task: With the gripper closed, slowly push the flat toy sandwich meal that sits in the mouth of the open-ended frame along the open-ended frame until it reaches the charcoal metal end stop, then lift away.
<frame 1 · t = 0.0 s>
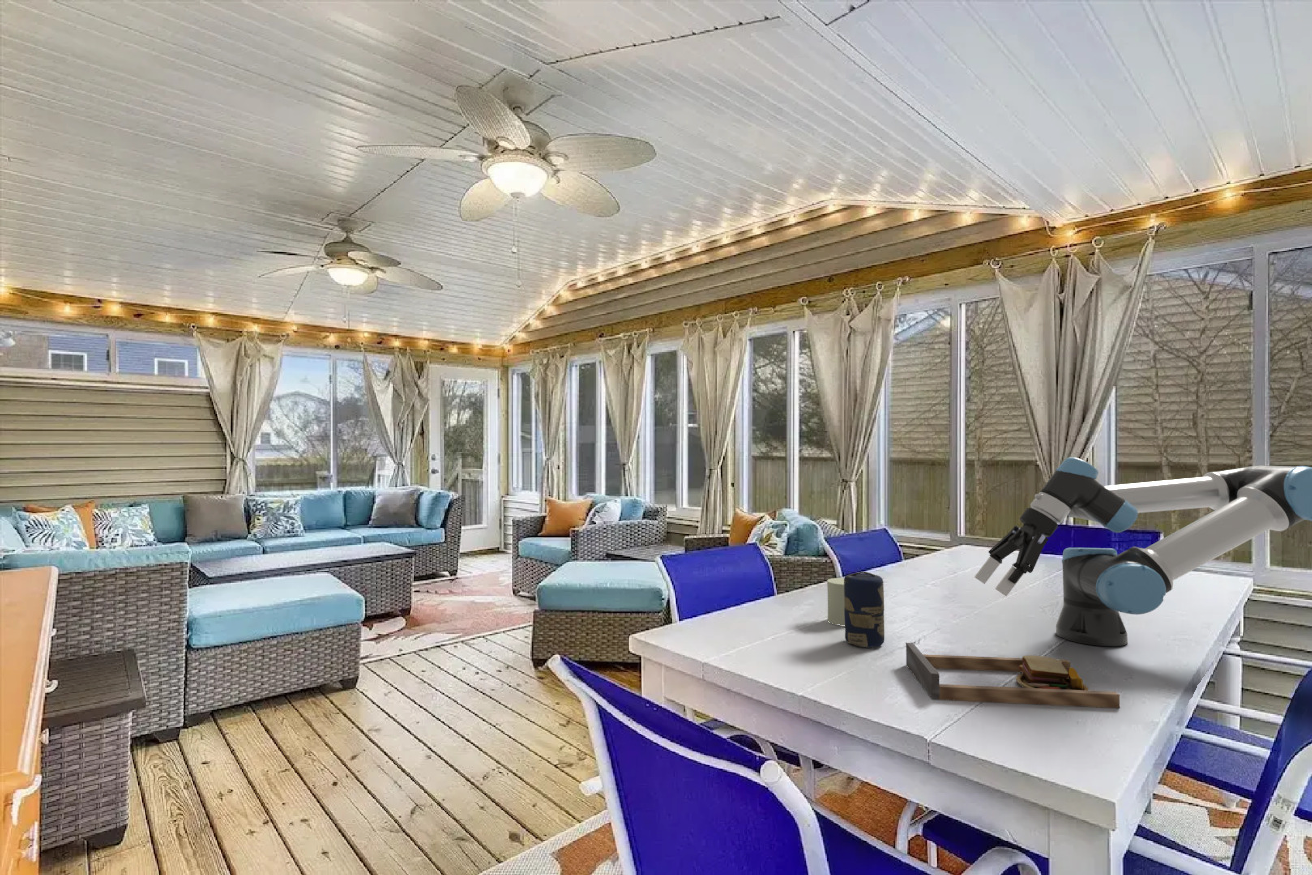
hand: (989, 586, 155), 15 cm above the table, tool tilted 35°, fingers open, 13 cm apart
open-ended frame: (1007, 684, 132), on the table
toy sandwich meal: (1048, 689, 131), on the table
can: (844, 622, 180), on the table
canister: (864, 644, 160), on the table
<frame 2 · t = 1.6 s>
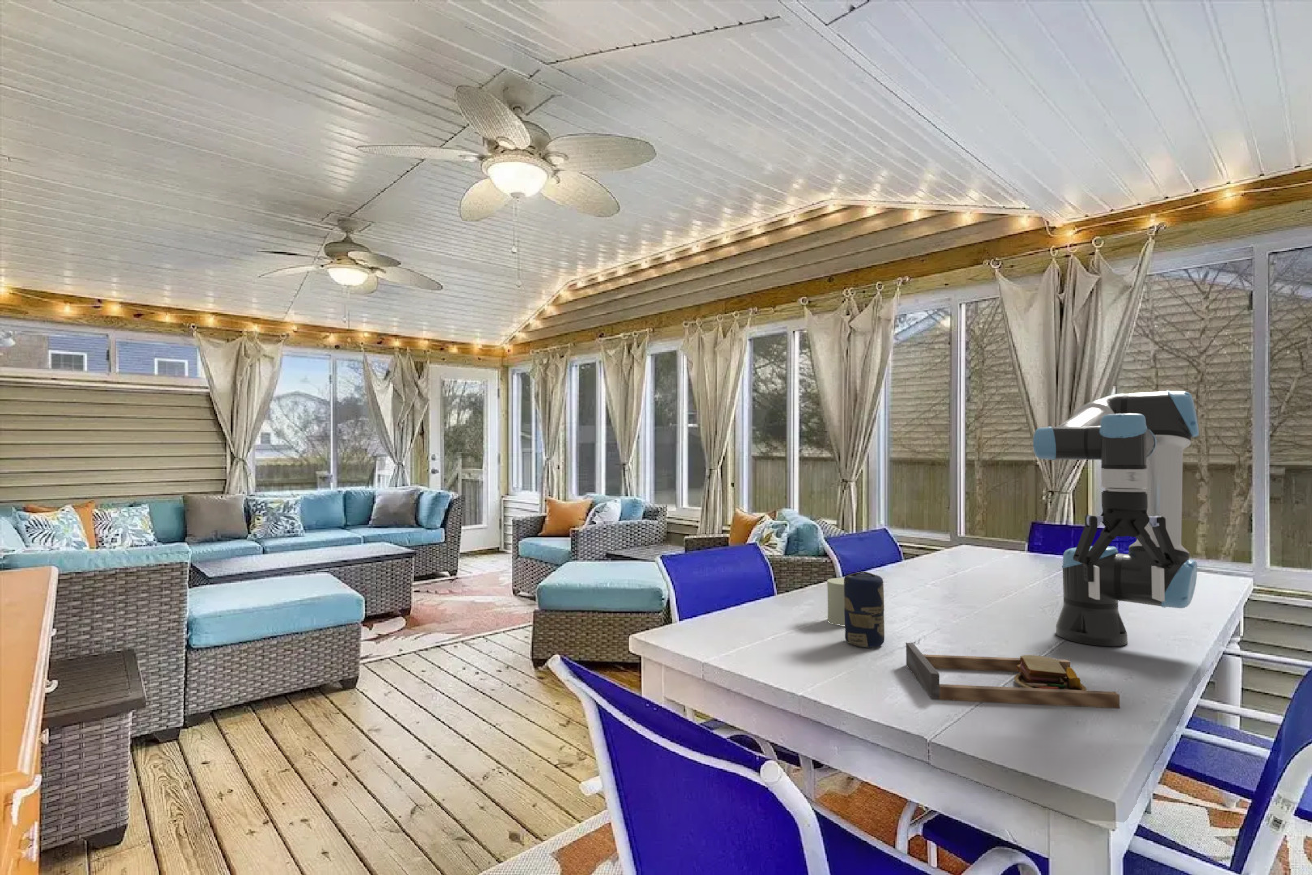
hand: (1126, 599, 129), 18 cm above the table, tool pointing down, fingers open, 11 cm apart
nothing on the table moved.
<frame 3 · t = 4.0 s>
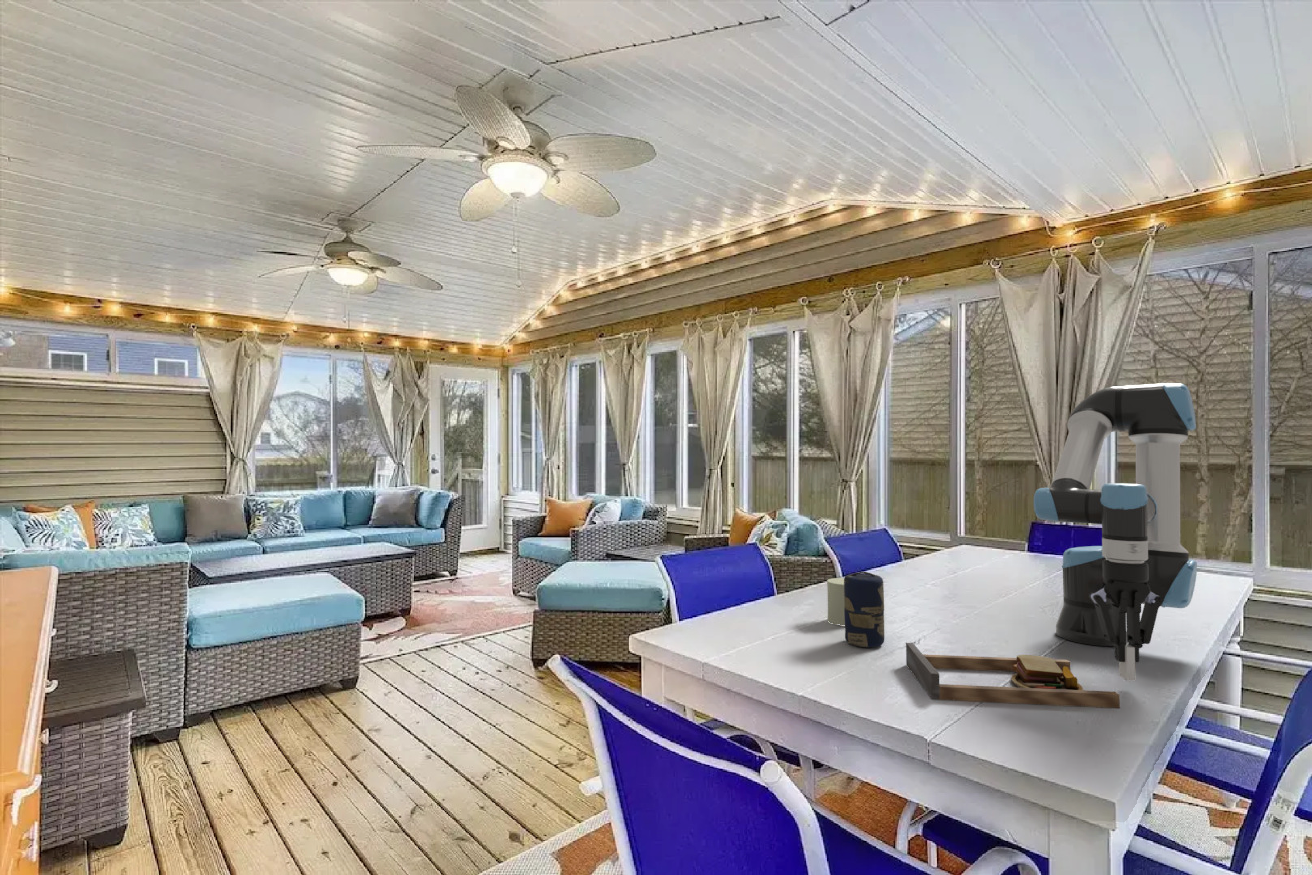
hand: (1127, 677, 129), 2 cm above the table, tool pointing down, fingers closed
nothing on the table moved.
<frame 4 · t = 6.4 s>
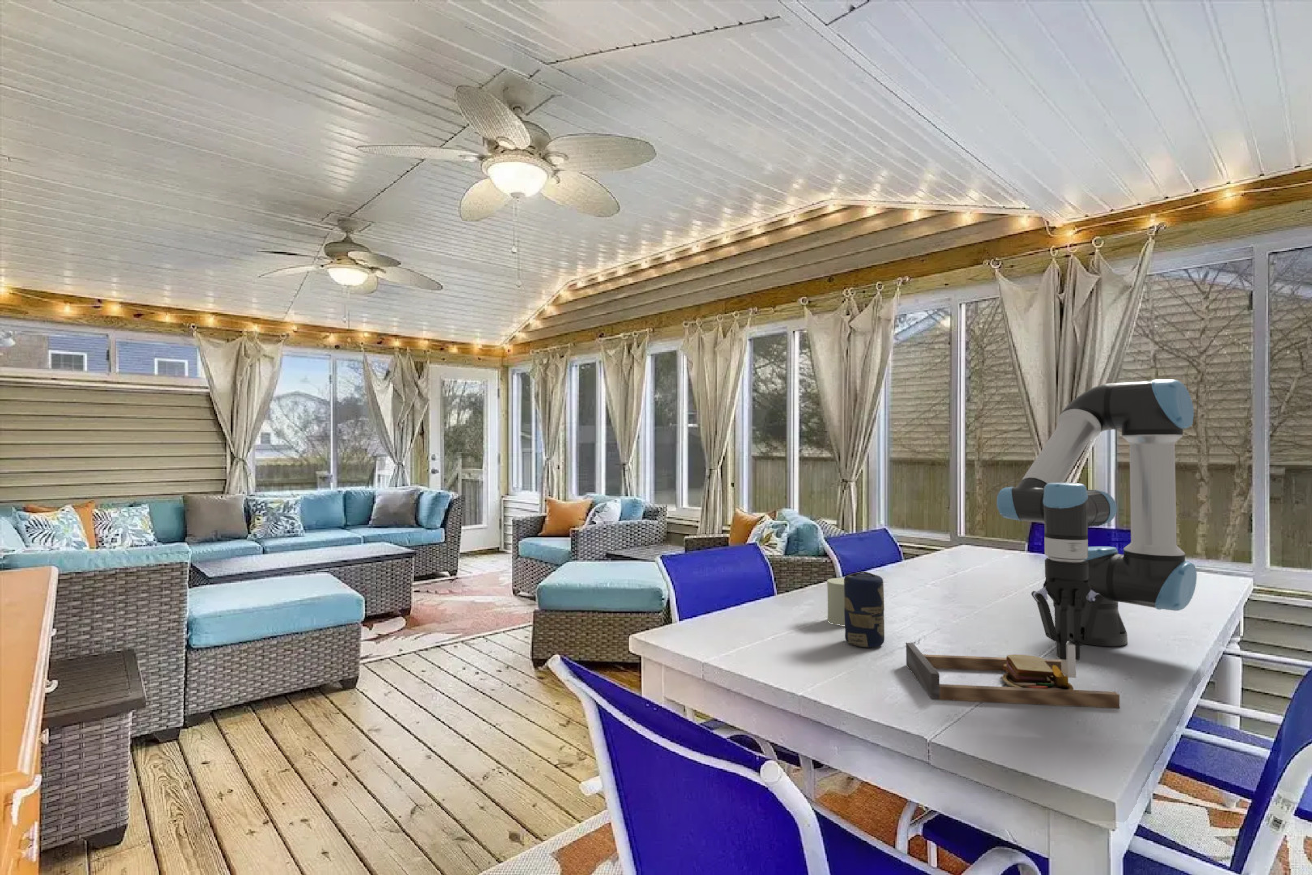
hand: (1068, 675, 130), 3 cm above the table, tool pointing down, fingers closed
toy sandwich meal: (1034, 687, 131), on the table, touching gripper
everything else where it was.
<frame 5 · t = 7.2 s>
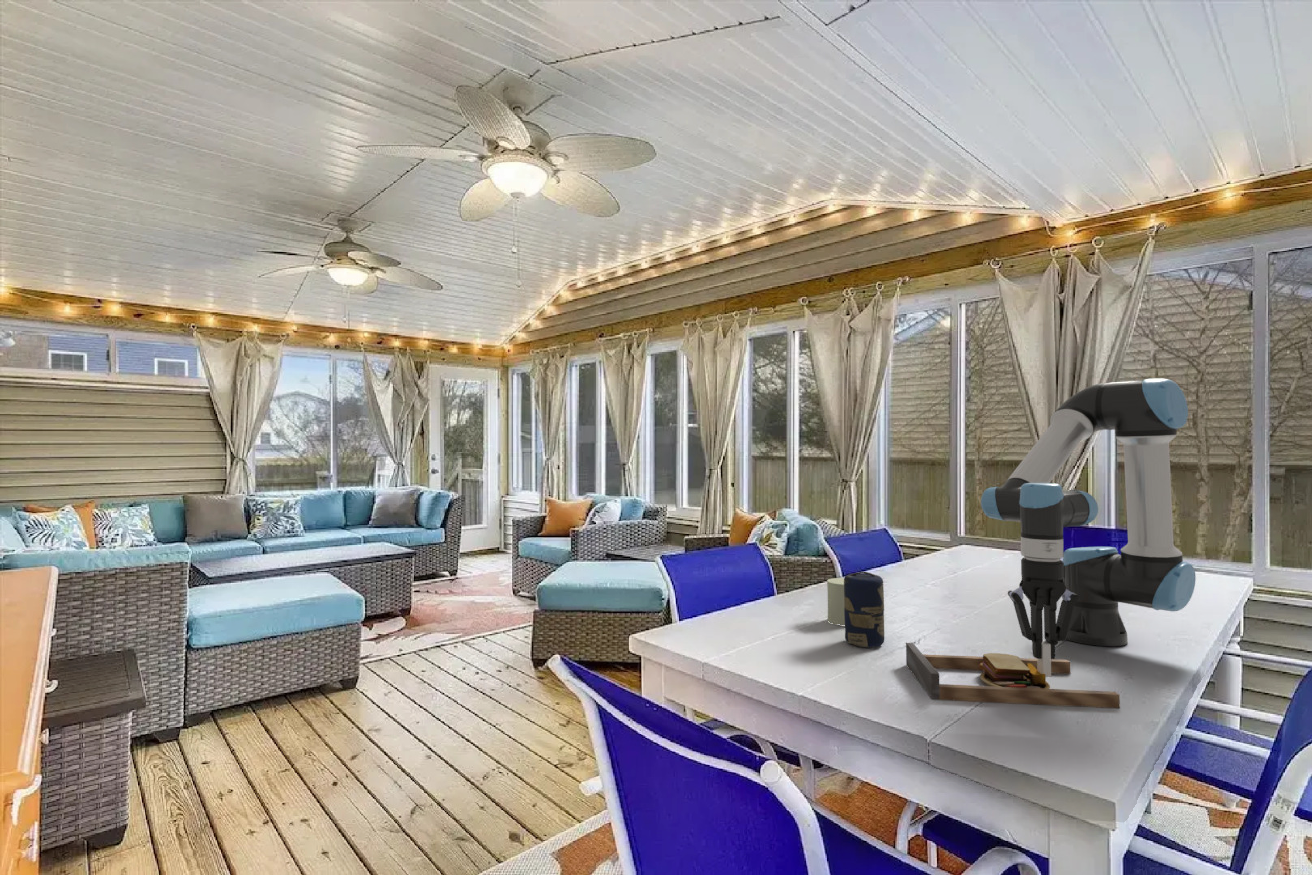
hand: (1044, 674, 131), 2 cm above the table, tool pointing down, fingers closed
toy sandwich meal: (1011, 686, 132), on the table, touching gripper
everything else where it was.
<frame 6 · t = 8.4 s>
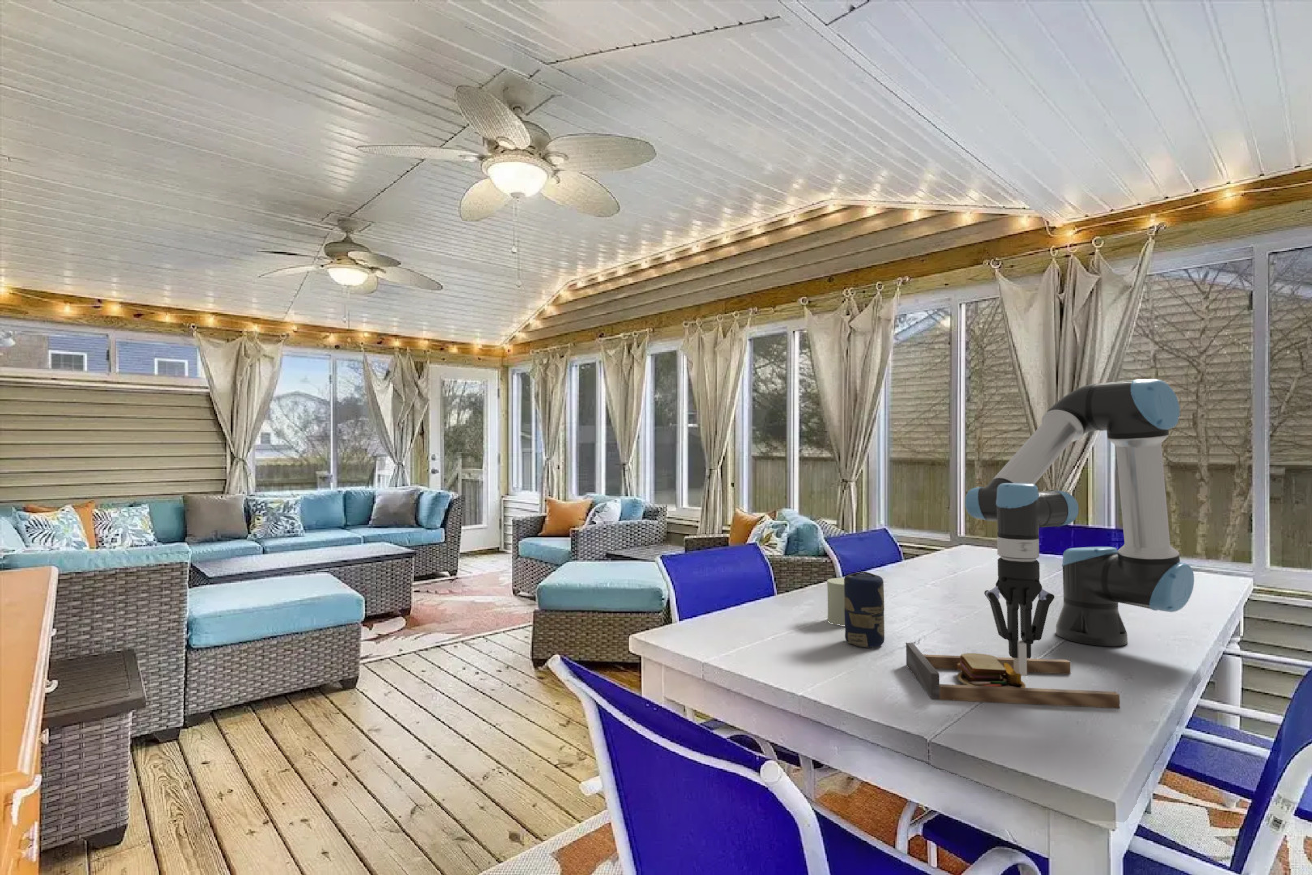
hand: (1020, 673, 132), 2 cm above the table, tool pointing down, fingers closed
toy sandwich meal: (987, 686, 133), on the table, touching gripper
everything else where it was.
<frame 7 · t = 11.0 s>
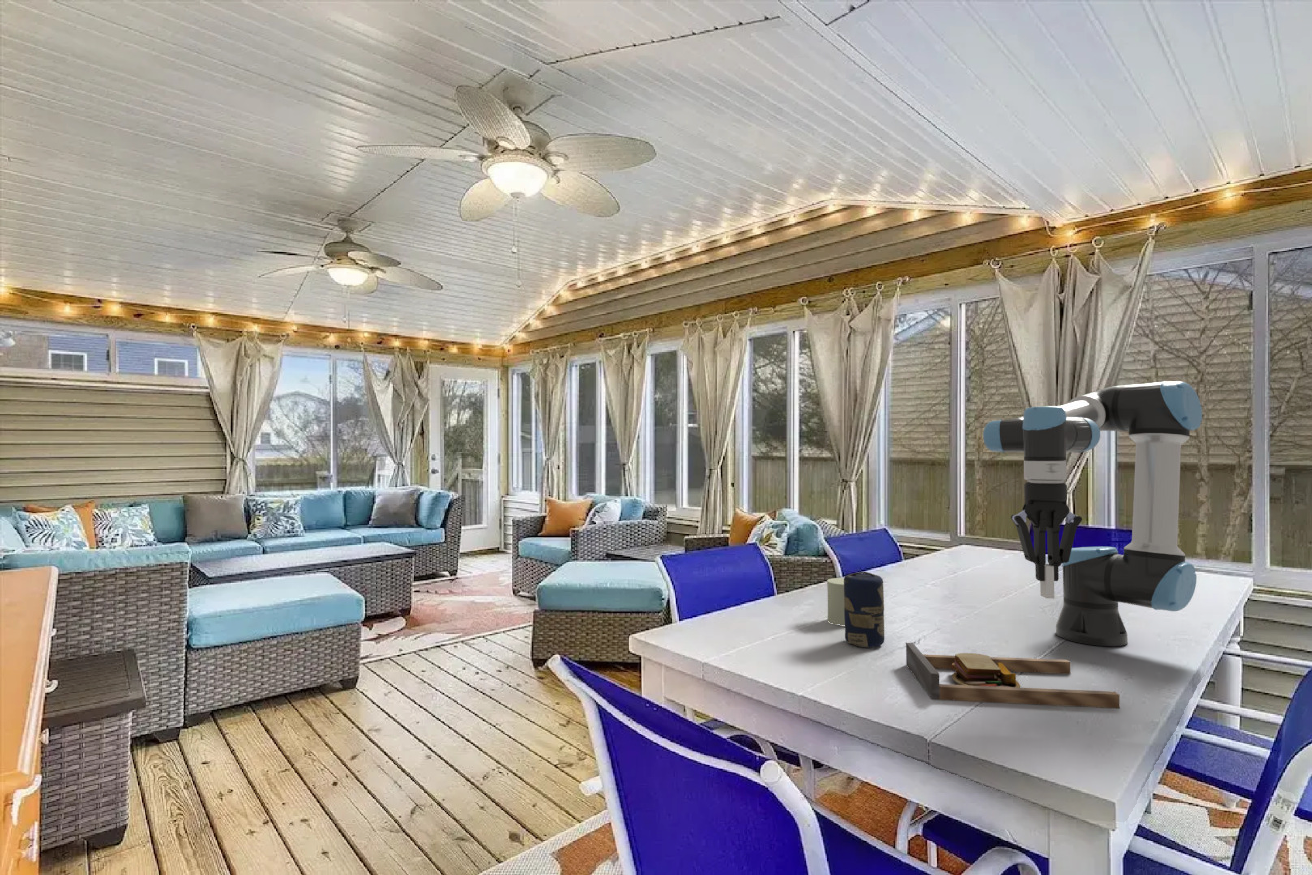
hand: (1047, 596, 131), 18 cm above the table, tool pointing down, fingers closed
toy sandwich meal: (982, 686, 133), on the table
everything else where it was.
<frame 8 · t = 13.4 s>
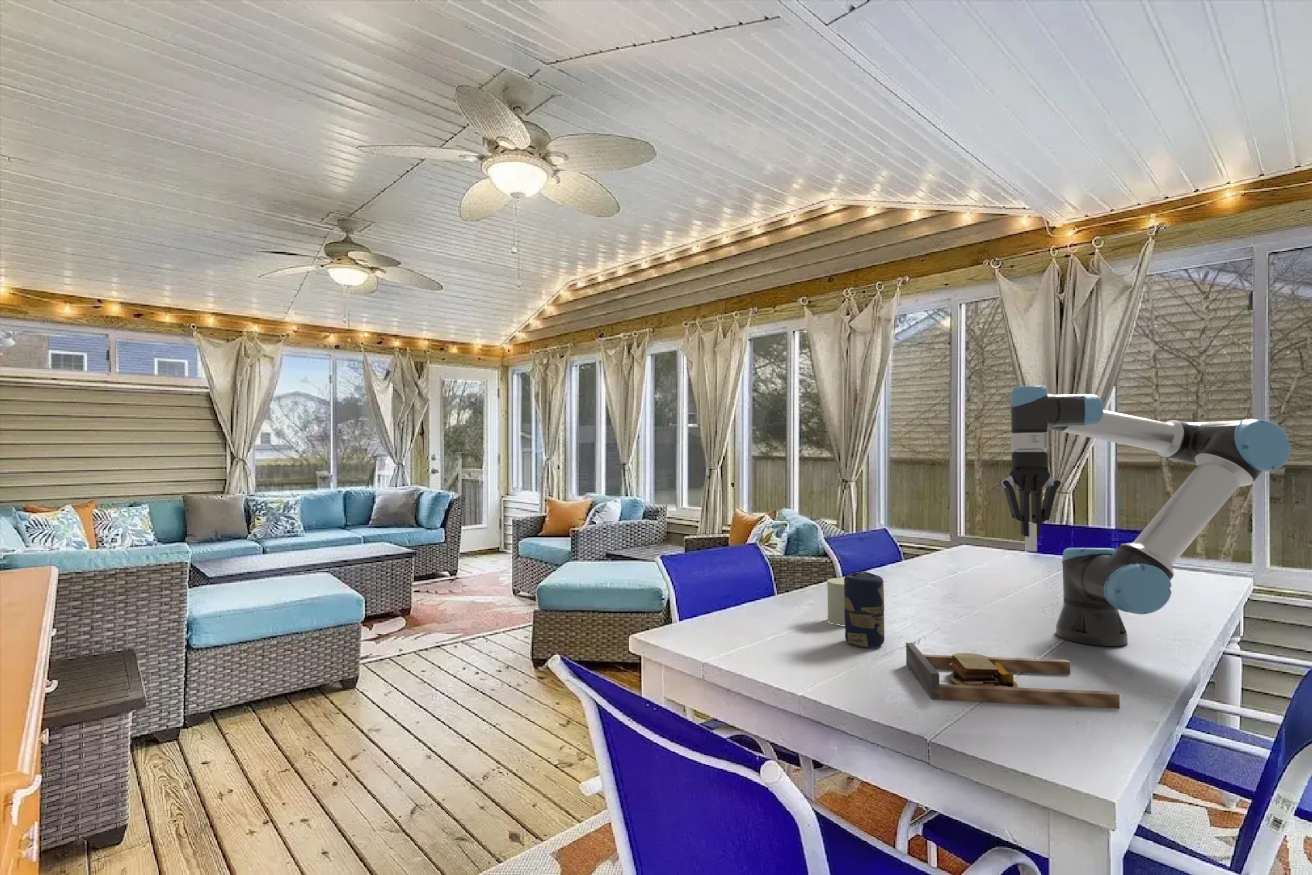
hand: (1031, 550, 152), 24 cm above the table, tool pointing down, fingers closed
nothing on the table moved.
at the end: toy sandwich meal inside the target area (2.2 cm from its centre), on the table; toy sandwich meal moved 13.3 cm from its start; the gripper is holding nothing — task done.
